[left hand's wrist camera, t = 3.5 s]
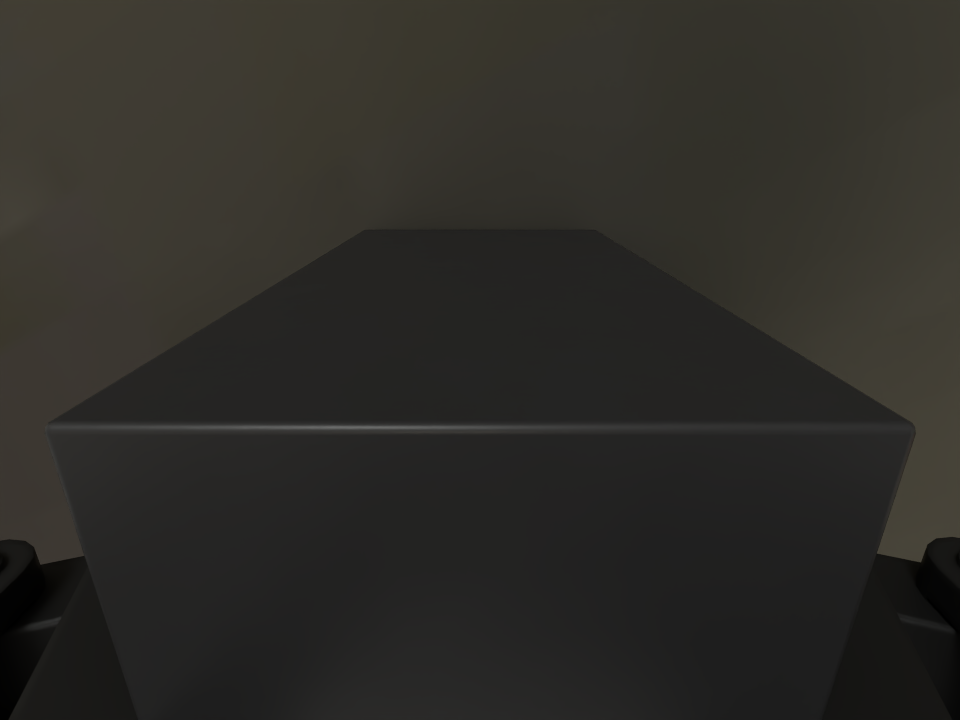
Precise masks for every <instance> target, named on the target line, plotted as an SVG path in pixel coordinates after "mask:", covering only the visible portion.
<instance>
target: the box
mask: <svg viewBox="0 0 960 720" xmlns="http://www.w3.org/2000/svg"><path fill="white" fill-rule="evenodd" d="M915 434H916V432H915V427H914V425H913V424H912V423H911V422H910V421H908V420H907V419H905V418H903V417H902V416H900V415H898V414H897V413H895V412H893V411H892V410H890V409H888V408H887V407H885V406H884V405H882V404H880V403H879V402H877V401H875V400H874V399H872V398H870V397H869V396H867V395H865V394H864V393H862V392H861V391H859V390H857V389H856V388H854V387H852V386H851V385H849V384H847V383H846V382H844V381H842V380H841V379H839V378H838V377H836V376H834V375H833V374H831V373H829V372H828V371H826V370H824V369H823V368H821V367H820V366H818V365H816V364H815V363H813V362H811V361H810V360H808V359H806V358H805V357H803V356H801V355H800V354H798V353H797V352H795V351H793V350H792V349H790V348H788V347H787V346H785V345H783V344H782V343H780V342H778V341H777V340H775V339H774V338H772V337H770V336H769V335H767V334H765V333H764V332H762V331H760V330H759V329H757V328H755V327H754V326H752V325H751V324H749V323H747V322H746V321H744V320H742V319H741V318H739V317H737V316H736V315H734V314H732V313H731V312H729V311H728V310H726V309H724V308H723V307H721V306H719V305H718V304H716V303H714V302H713V301H711V300H709V299H708V298H706V297H705V296H703V295H701V294H700V293H698V292H696V291H695V290H693V289H691V288H690V287H688V286H686V285H685V284H683V283H682V282H680V281H678V280H677V279H675V278H673V277H672V276H670V275H668V274H667V273H665V272H663V271H662V270H660V269H659V268H657V267H655V266H654V265H652V264H650V263H649V262H647V261H645V260H644V259H642V258H640V257H639V256H637V255H636V254H634V253H632V252H631V251H629V250H627V249H626V248H624V247H622V246H621V245H619V244H617V243H616V242H614V241H613V240H611V239H609V238H608V237H606V236H604V235H603V234H601V233H599V232H598V231H596V230H364V231H362V232H361V233H359V234H357V235H356V236H354V237H352V238H351V239H349V240H348V241H346V242H344V243H343V244H341V245H339V246H338V247H336V248H334V249H333V250H331V251H329V252H328V253H326V254H325V255H323V256H321V257H320V258H318V259H316V260H315V261H313V262H311V263H310V264H308V265H307V266H305V267H303V268H302V269H300V270H298V271H297V272H295V273H293V274H292V275H290V276H288V277H287V278H285V279H284V280H282V281H280V282H279V283H277V284H275V285H274V286H272V287H270V288H269V289H267V290H265V291H264V292H262V293H261V294H259V295H257V296H256V297H254V298H252V299H251V300H249V301H247V302H246V303H244V304H243V305H241V306H239V307H238V308H236V309H234V310H233V311H231V312H229V313H228V314H226V315H224V316H223V317H221V318H220V319H218V320H216V321H215V322H213V323H211V324H210V325H208V326H206V327H205V328H203V329H201V330H200V331H198V332H197V333H195V334H193V335H192V336H190V337H188V338H187V339H185V340H183V341H182V342H180V343H179V344H177V345H175V346H174V347H172V348H170V349H169V350H167V351H165V352H164V353H162V354H160V355H159V356H157V357H156V358H154V359H152V360H151V361H149V362H147V363H146V364H144V365H142V366H141V367H139V368H137V369H136V370H134V371H133V372H131V373H129V374H128V375H126V376H124V377H123V378H121V379H119V380H118V381H116V382H115V383H113V384H111V385H110V386H108V387H106V388H105V389H103V390H101V391H100V392H98V393H96V394H95V395H93V396H92V397H90V398H88V399H87V400H85V401H83V402H82V403H80V404H78V405H77V406H75V407H74V408H72V409H70V410H69V411H67V412H65V413H64V414H62V415H60V416H59V417H57V418H55V419H54V420H52V421H51V422H49V423H48V424H47V426H46V427H45V436H46V439H47V442H48V445H49V448H50V451H51V454H52V458H53V461H54V464H55V467H56V470H57V473H58V476H59V479H60V482H61V485H62V488H63V491H64V494H65V497H66V500H67V503H68V507H69V510H70V513H71V516H72V519H73V522H74V525H75V528H76V531H77V534H78V537H79V540H80V543H81V546H82V549H83V552H84V556H85V559H86V562H87V565H88V568H89V571H90V574H91V577H92V580H93V583H94V586H95V589H96V592H97V595H98V598H99V602H100V605H101V608H102V611H103V614H104V617H105V620H106V623H107V626H108V629H109V632H110V635H111V638H112V641H113V644H114V647H115V651H116V654H117V657H118V660H119V663H120V666H121V669H122V672H123V675H124V678H125V681H126V684H127V687H128V690H129V693H130V696H131V700H132V703H133V706H134V709H135V712H136V715H137V718H138V720H822V719H823V716H824V713H825V710H826V707H827V704H828V701H829V697H830V694H831V691H832V688H833V685H834V682H835V679H836V676H837V673H838V670H839V667H840V664H841V661H842V658H843V655H844V652H845V649H846V645H847V642H848V639H849V636H850V633H851V630H852V627H853V624H854V621H855V618H856V615H857V612H858V609H859V606H860V603H861V600H862V597H863V593H864V590H865V587H866V584H867V581H868V578H869V575H870V572H871V569H872V566H873V563H874V560H875V557H876V554H877V551H878V548H879V545H880V542H881V538H882V535H883V532H884V529H885V526H886V523H887V520H888V517H889V514H890V511H891V508H892V505H893V502H894V499H895V496H896V493H897V490H898V486H899V483H900V480H901V477H902V474H903V471H904V468H905V465H906V462H907V459H908V456H909V453H910V450H911V447H912V444H913V441H914V438H915Z"/></svg>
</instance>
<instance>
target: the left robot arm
mask: <svg viewBox="0 0 960 720" xmlns="http://www.w3.org/2000/svg"><path fill="white" fill-rule="evenodd" d="M0 720H138V718H137V715H136V712H135V709H134V706H133V703H132V700H131V696H130V693H129V690H128V687H127V684H126V681H125V678H124V675H123V672H122V669H121V666H120V663H119V660H118V657H117V654H116V651H115V647H114V644H113V641H112V638H111V635H110V632H109V629H108V626H107V623H106V620H105V617H104V614H103V611H102V608H101V605H100V602H99V598H98V595H97V592H96V589H95V586H94V583H93V580H92V577H91V574H90V571H89V568H88V565H87V562H86V559H85V556H82V557H77V558H72V559H67V560H62V561H57V562H52V563H47V564H42V565H40V563H39V560H38V557H37V554H36V552H35V549H34V547H33V546H32V545H30V544H29V543H27V542H26V541H20V540H10V539H9V540H2V541H0ZM822 720H960V538H955V537H947V538H937V539H935V540H933V541H932V542H931V543H929V544H928V545H927V548H926V550H925V553H924V556H923V559H922V561H921V563H920V562H915V561H911V560H906V559H901V558H896V557H891V556H886V555H881V554H876V557H875V560H874V563H873V566H872V569H871V572H870V575H869V578H868V581H867V584H866V587H865V590H864V593H863V597H862V600H861V603H860V606H859V609H858V612H857V615H856V618H855V621H854V624H853V627H852V630H851V633H850V636H849V639H848V642H847V645H846V649H845V652H844V655H843V658H842V661H841V664H840V667H839V670H838V673H837V676H836V679H835V682H834V685H833V688H832V691H831V694H830V697H829V701H828V704H827V707H826V710H825V713H824V716H823V719H822Z"/></svg>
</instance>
